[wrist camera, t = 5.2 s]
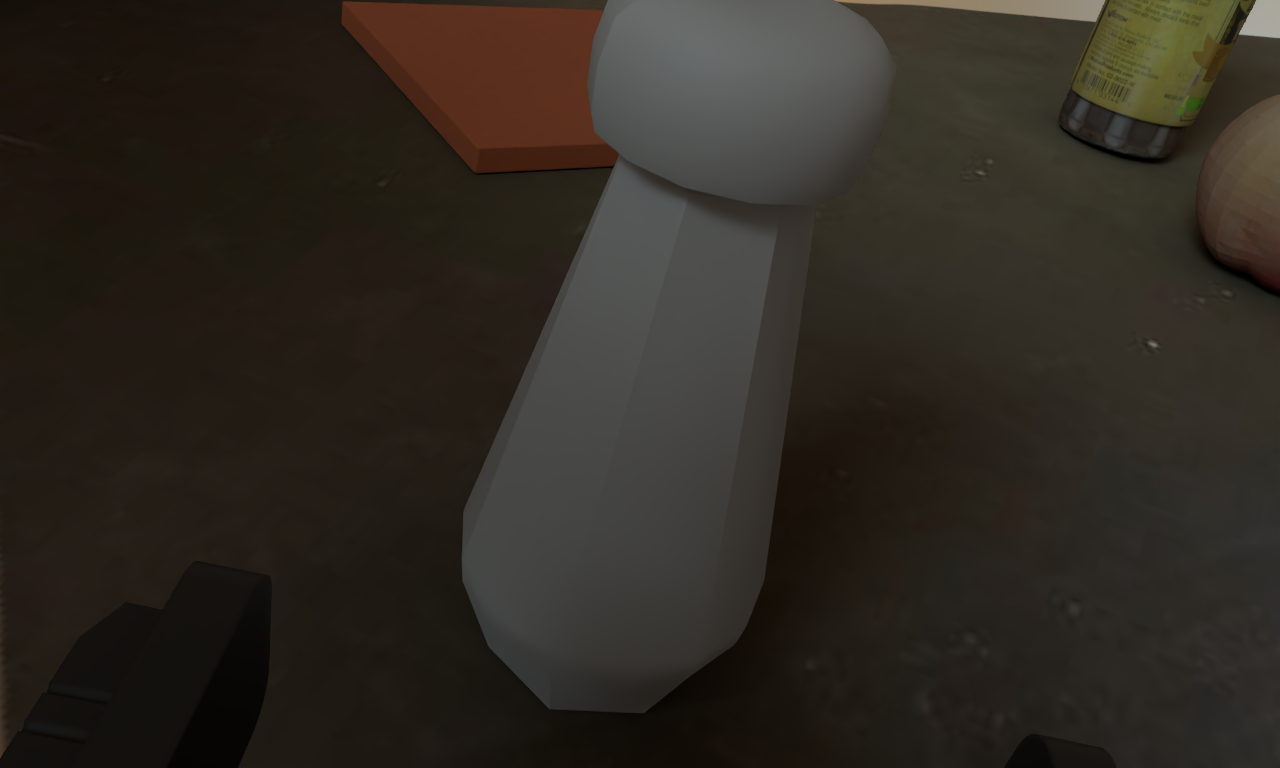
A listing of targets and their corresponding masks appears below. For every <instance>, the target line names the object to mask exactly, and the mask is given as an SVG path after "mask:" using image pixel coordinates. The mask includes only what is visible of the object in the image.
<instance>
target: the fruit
mask: <svg viewBox="0 0 1280 768" xmlns="http://www.w3.org/2000/svg"><path fill="white" fill-rule="evenodd" d="M1196 216H1197V222H1198V227H1199V230H1200V233H1201V236H1202V238H1203V240H1204V242H1205V244H1206V246H1207V248H1208V249H1209V251H1210V253H1211V254H1212V255H1213V257H1214V258H1215V259H1217V260H1218V261H1220V262H1221V263H1223V264H1224V265H1226V266H1228V267H1230V268H1232V269H1234V270H1237V271H1241V272H1244V273H1246V274H1250V275H1251V276H1252V277H1253V278H1254V279H1255V281H1257V282H1258V283H1259V284H1261V285H1262V286H1264V287H1266V288H1268V289H1270V290H1273V291H1276V292H1278V293H1280V94H1279V95H1276V96H1272V97H1270V98H1268V99H1266V100H1264V101H1261V102H1259V103H1257V104H1256V105H1254V106H1253V107H1251V108H1249V109H1248V110H1246V111H1245V112H1244V113H1242V114H1241V115H1240V116H1238V117H1237V118H1236V119H1235V120H1233V121H1232V122H1231V123H1230V124H1229V125H1228V126H1227V127H1226V128H1225V129H1224V131H1223V132H1222V133H1221V134H1220V135H1219V136H1218V138H1217V139H1216V140H1215V142H1214V143H1213V145H1212V146H1211V147H1210V149H1209V151H1208V153H1207V155H1206V157H1205V159H1204V162H1203V165H1202V169H1201V172H1200V176H1199V180H1198V185H1197V194H1196Z"/></svg>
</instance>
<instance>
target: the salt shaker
mask: <svg viewBox="0 0 1280 768" xmlns="http://www.w3.org/2000/svg"><path fill="white" fill-rule="evenodd" d="M896 71H897V67H896V65H895V63H894V61H893V59H892V57H891V55H890V53H889V51H888V49H887V47H886V45H885V43H884V41H883V39H882V37H881V36H880V35H879V33H878V32H877V31H876V30H875V29H874V28H873V27H872V25H871V24H870V23H869V22H868V21H867V20H866V19H865V18H863V17H862V16H860V15H858V14H857V13H855V12H853V11H852V10H850V9H848V8H846V7H845V6H843V5H841V4H839V3H838V2H836V1H834V0H608V2H607V4H606V7H605V9H604V12H603V15H602V17H601V20H600V23H599V25H598V28H597V31H596V33H595V36H594V39H593V44H592V51H591V59H590V66H589V74H588V81H587V87H588V94H589V102H590V109H591V115H592V121H593V127H594V132H595V133H596V134H597V135H598V136H599V137H600V138H602V139H603V140H604V141H605V142H606V143H608V144H609V145H610V146H611V147H612V148H613V149H615V150H616V151H617V152H618V153H619V156H618V158H617V161H616V163H615V166H614V168H613V171H612V173H611V175H610V177H609V180H608V182H607V184H606V187H605V189H604V191H603V193H602V196H601V198H600V200H599V203H598V205H597V207H596V209H595V212H594V214H593V216H592V218H591V221H590V223H589V225H588V228H587V230H586V232H585V234H584V237H583V239H582V241H581V244H580V246H579V248H578V250H577V253H576V255H575V257H574V260H573V262H572V264H571V266H570V269H569V271H568V273H567V276H566V278H565V280H564V282H563V285H562V287H561V289H560V292H559V294H558V296H557V298H556V301H555V303H554V305H553V308H552V310H551V312H550V314H549V317H548V319H547V321H546V323H545V326H544V328H543V330H542V333H541V335H540V337H539V339H538V342H537V344H536V346H535V349H534V351H533V353H532V355H531V358H530V360H529V362H528V365H527V367H526V369H525V371H524V374H523V376H522V378H521V381H520V383H519V385H518V387H517V390H516V392H515V394H514V397H513V399H512V401H511V403H510V406H509V408H508V410H507V413H506V415H505V417H504V419H503V422H502V424H501V426H500V428H499V431H498V433H497V435H496V438H495V440H494V442H493V444H492V447H491V449H490V451H489V454H488V456H487V458H486V460H485V463H484V465H483V467H482V470H481V472H480V474H479V476H478V479H477V481H476V483H475V486H474V488H473V490H472V492H471V495H470V497H469V499H468V502H467V504H466V506H465V508H464V511H463V539H462V581H463V583H464V586H465V588H466V591H467V593H468V596H469V598H470V601H471V603H472V606H473V608H474V611H475V614H476V616H477V619H478V621H479V624H480V626H481V629H482V631H483V634H484V636H485V639H486V641H487V644H488V646H489V648H490V649H491V650H492V651H493V652H494V653H495V654H496V655H497V656H498V657H499V658H500V659H501V660H502V661H503V662H504V663H505V664H506V665H507V666H508V667H509V668H510V669H511V670H512V671H513V672H514V673H515V674H516V675H517V676H518V677H519V678H520V680H521V681H522V682H523V683H524V684H525V685H526V686H527V687H528V688H529V689H530V690H531V691H532V692H533V693H534V694H535V695H536V696H537V697H538V698H539V699H540V700H541V701H542V702H543V703H544V704H545V705H546V706H547V707H548V708H549V709H554V710H578V711H601V712H624V713H645V712H646V711H647V710H649V709H650V708H651V707H652V706H654V705H655V704H656V703H657V702H659V701H660V700H661V699H662V698H664V697H665V696H666V695H667V694H669V693H670V692H671V691H672V690H674V689H675V688H676V687H677V686H679V685H680V684H681V683H682V682H683V681H685V680H686V679H687V678H688V677H690V676H691V675H693V674H694V673H695V672H697V671H698V670H700V669H701V668H702V667H704V666H705V665H707V664H708V663H709V662H711V661H712V660H714V659H715V658H716V657H718V656H719V655H721V654H722V653H724V652H725V651H726V650H728V649H729V648H731V647H732V646H733V645H735V643H736V642H737V640H738V639H739V637H740V636H741V634H742V633H743V631H744V629H745V628H746V626H747V624H748V621H749V619H750V616H751V613H752V611H753V608H754V606H755V603H756V600H757V598H758V595H759V593H760V590H761V588H762V585H763V582H764V578H765V571H766V564H767V556H768V549H769V542H770V535H771V528H772V521H773V513H774V506H775V499H776V492H777V485H778V477H779V470H780V463H781V456H782V449H783V441H784V434H785V427H786V420H787V413H788V406H789V398H790V391H791V384H792V377H793V370H794V362H795V355H796V348H797V341H798V334H799V326H800V319H801V312H802V305H803V298H804V291H805V283H806V276H807V269H808V262H809V255H810V247H811V240H812V233H813V226H814V219H815V212H816V204H817V203H820V202H823V201H826V200H829V199H832V198H836V197H839V196H842V195H845V194H847V192H848V191H849V190H850V189H851V187H852V186H853V185H854V184H855V182H856V181H857V180H858V179H859V177H860V176H861V174H862V172H863V170H864V168H865V167H866V165H867V163H868V161H869V159H870V157H871V155H872V153H873V150H874V148H875V146H876V143H877V141H878V139H879V136H880V134H881V132H882V129H883V127H884V124H885V122H886V120H887V117H888V115H889V111H890V106H891V100H892V94H893V88H894V82H895V76H896Z"/></svg>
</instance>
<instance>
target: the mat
mask: <svg viewBox="0 0 1280 768" xmlns="http://www.w3.org/2000/svg"><path fill="white" fill-rule="evenodd" d="M603 12H604V10H579V9H550V8H521V7H492V6H463V5H434V4H405V3H375V2H346V1H344V2H343V6H342V25H343V26H344V27H345V28H346V29H347V30H348V32H349V33H350V34H351V35H352V36H353V37H354V38H355V39H356V41H357V42H358V43H359V44H360V45H361V46H362V47H363V48H364V50H365V51H366V52H367V53H368V54H369V55H370V56H371V57H372V59H373V60H374V61H375V62H376V63H377V64H378V65H379V66H380V67H381V69H382V70H383V71H384V72H385V73H386V74H387V75H388V76H389V78H390V79H391V80H392V81H393V82H394V83H395V84H396V85H397V87H398V88H399V89H400V90H401V91H402V92H403V93H404V94H405V95H406V97H407V98H408V99H409V100H410V101H411V102H412V103H413V104H414V106H415V107H416V108H417V109H418V110H419V111H420V112H421V113H422V115H423V116H424V117H425V118H426V119H427V120H428V121H429V122H430V124H431V125H432V126H433V127H434V128H435V129H436V130H437V131H438V132H439V134H440V135H441V136H442V137H443V138H444V139H445V140H446V141H447V143H448V144H449V145H450V146H451V147H452V148H453V149H454V150H455V152H456V153H457V154H458V155H459V156H460V157H461V158H462V159H463V161H464V162H465V163H466V164H467V165H468V166H469V167H470V168H471V169H472V171H473V172H474V173H496V172H515V171H534V170H554V169H573V168H592V167H611V166H615V163H616V161H617V158H618V156H619V153H618V152H617V151H616V150H615V149H613V148H612V147H611V146H610V145H609V144H608V143H606V142H605V141H604V140H603V139H602V138H600V137H599V136H598V135H597V134H596V133H595V132H594V127H593V121H592V115H591V109H590V102H589V94H588V87H587V81H588V74H589V66H590V59H591V51H592V44H593V39H594V36H595V33H596V31H597V28H598V25H599V23H600V20H601V17H602V15H603Z"/></svg>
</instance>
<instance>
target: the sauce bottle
mask: <svg viewBox="0 0 1280 768" xmlns="http://www.w3.org/2000/svg"><path fill="white" fill-rule="evenodd" d="M1255 1H1256V0H1105V3H1104V5H1103V7H1102V10H1101V12H1100V14H1099V16H1098V19H1097V21H1096V23H1095V25H1094V28H1093V30H1092V32H1091V34H1090V37H1089V39H1088V41H1087V44H1086V46H1085V48H1084V50H1083V53H1082V55H1081V57H1080V59H1079V62H1078V64H1077V67H1076V69H1075V71H1074V74H1073V76H1072V78H1071V81H1070V84H1071V85H1072V87H1071V89H1070V91H1069V93H1068V94H1067V97H1066V99H1065V101H1064V103H1063V106H1062V108H1061V111H1060V115H1059V123H1060V125H1061V127H1062V128H1063V129H1065V130H1066V131H1067V132H1069V133H1070V134H1072V135H1073V136H1075V137H1077V138H1079V139H1081V140H1083V141H1085V142H1087V143H1089V144H1091V145H1094V146H1098V147H1101V148H1104V149H1108V150H1111V151H1114V152H1118V153H1121V154H1124V155H1128V156H1132V157H1137V158H1145V159H1161V158H1165V157H1167V156H1169V155H1170V154H1171V153H1172V152H1173V151H1174V150H1175V149H1176V147H1177V146H1178V143H1179V141H1180V139H1181V136H1182V134H1183V132H1184V130H1185V128H1186V126H1189V125H1192V124H1193V123H1194V121H1195V119H1196V117H1197V115H1198V113H1199V111H1200V109H1201V107H1202V105H1203V103H1204V101H1205V99H1206V97H1207V95H1208V93H1209V91H1210V89H1211V87H1212V85H1213V83H1214V81H1215V79H1216V77H1217V75H1218V73H1219V71H1220V70H1221V68H1222V66H1223V64H1224V62H1225V60H1226V58H1227V56H1228V54H1229V52H1230V50H1231V48H1232V46H1233V45H1234V44H1235V42H1236V39H1237V37H1238V34H1239V32H1240V30H1241V28H1242V27H1243V25H1244V23H1245V21H1246V19H1247V17H1248V15H1249V13H1250V11H1251V10H1252V8H1253V6H1254V3H1255Z"/></svg>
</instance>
